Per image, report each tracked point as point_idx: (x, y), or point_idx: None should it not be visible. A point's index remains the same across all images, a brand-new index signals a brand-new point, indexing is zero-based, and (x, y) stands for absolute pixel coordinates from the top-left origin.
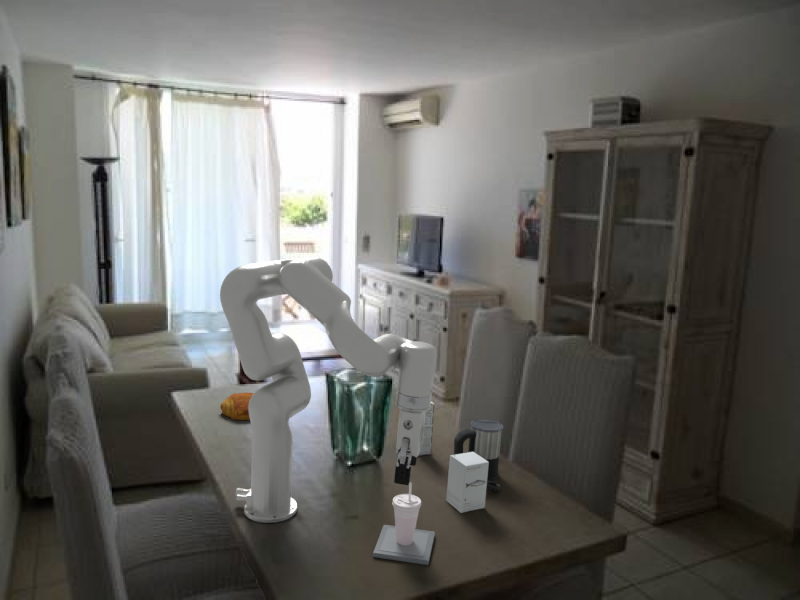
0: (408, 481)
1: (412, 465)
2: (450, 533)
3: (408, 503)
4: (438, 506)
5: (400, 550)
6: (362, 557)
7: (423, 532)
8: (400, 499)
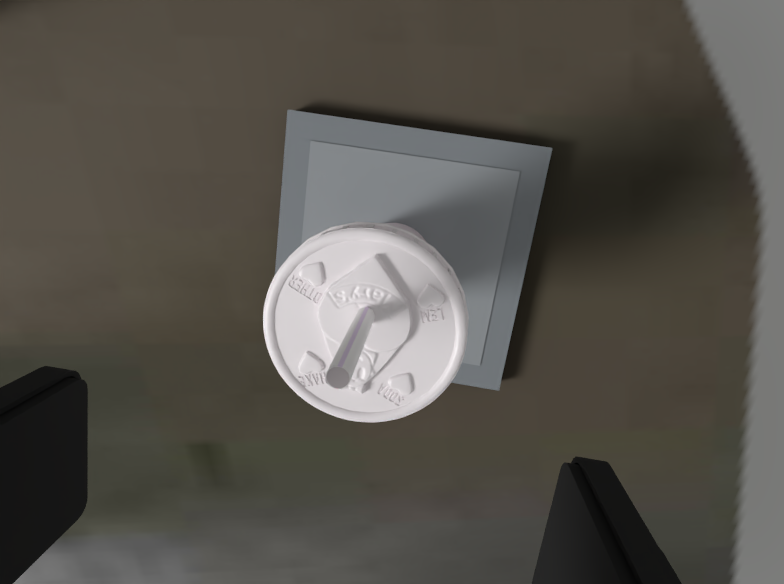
0: (615, 490)
1: (87, 400)
2: (256, 24)
3: (410, 322)
4: (10, 83)
5: (476, 279)
6: (502, 419)
7: (304, 169)
8: (367, 377)
